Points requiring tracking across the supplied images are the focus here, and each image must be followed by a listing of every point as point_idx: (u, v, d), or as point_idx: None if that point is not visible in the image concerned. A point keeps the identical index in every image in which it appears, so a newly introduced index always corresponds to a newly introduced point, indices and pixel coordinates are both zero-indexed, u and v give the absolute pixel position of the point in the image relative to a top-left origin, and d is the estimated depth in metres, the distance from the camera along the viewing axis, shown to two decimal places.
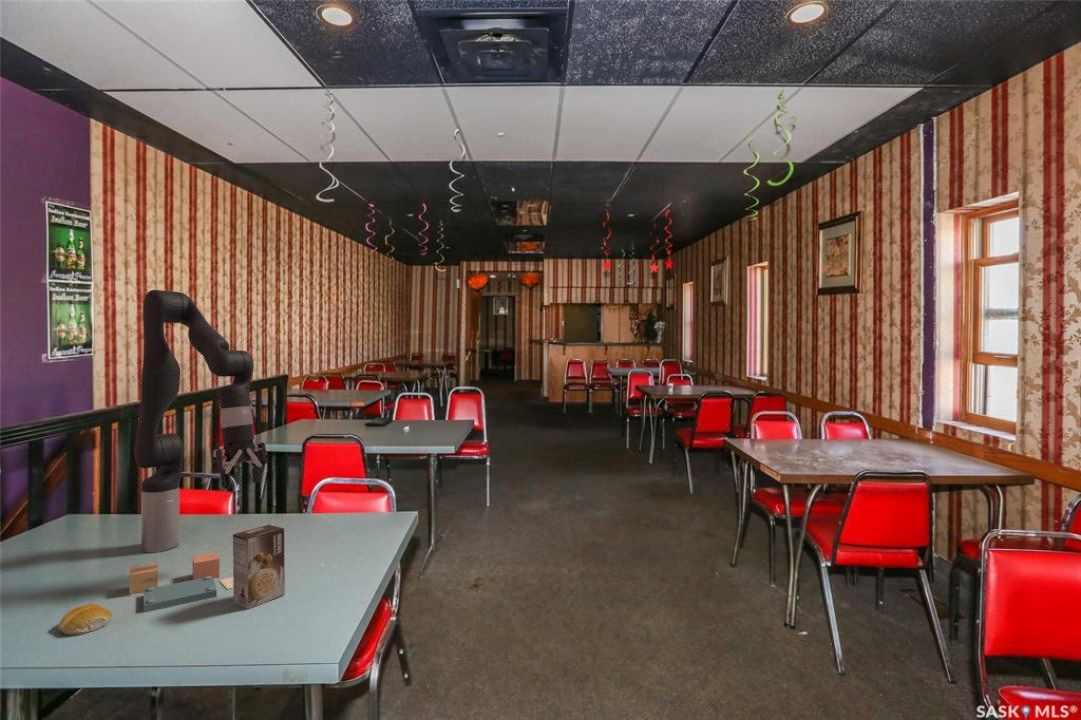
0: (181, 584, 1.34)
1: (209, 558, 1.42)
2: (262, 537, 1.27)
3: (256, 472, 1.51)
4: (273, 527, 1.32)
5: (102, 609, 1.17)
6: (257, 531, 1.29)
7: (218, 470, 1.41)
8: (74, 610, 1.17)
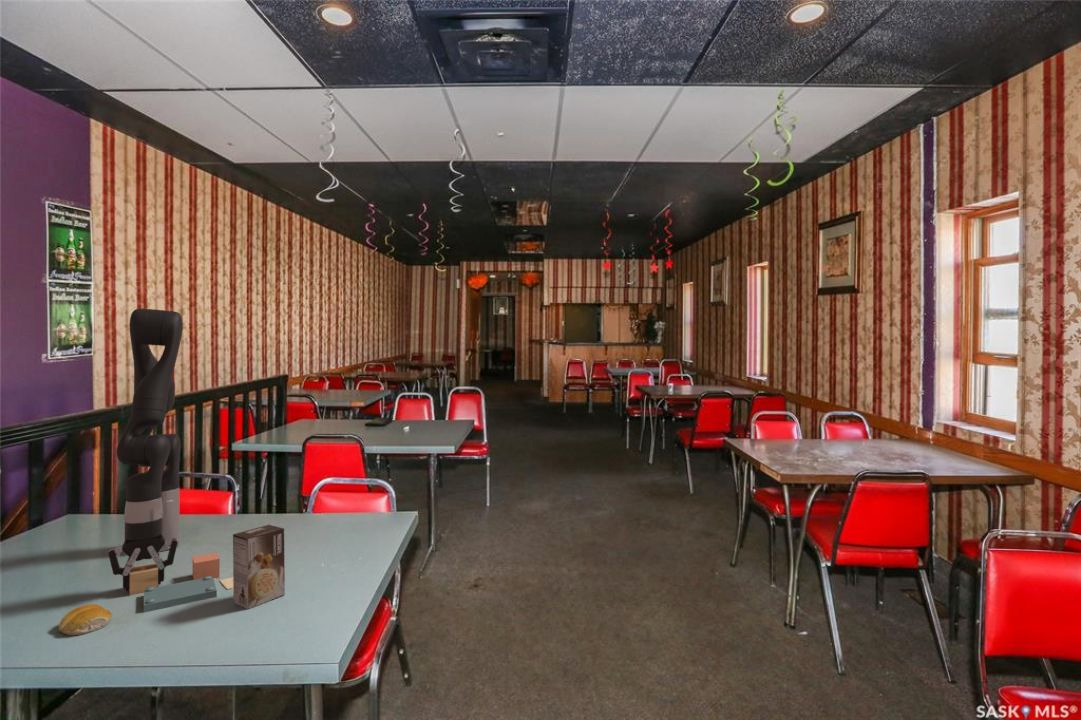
0: (181, 584, 1.34)
1: (209, 558, 1.42)
2: (262, 537, 1.27)
3: None
4: (273, 527, 1.32)
5: (102, 609, 1.17)
6: (257, 531, 1.29)
7: (113, 572, 1.30)
8: (74, 610, 1.16)
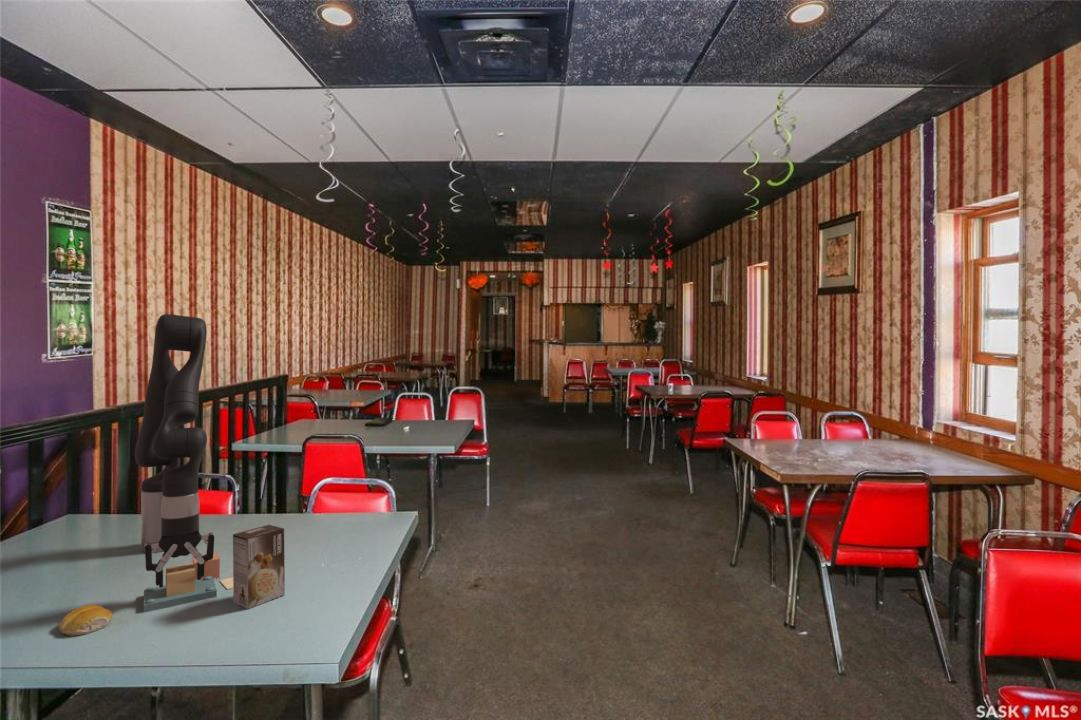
0: None
1: None
2: (262, 537, 1.27)
3: (197, 569, 1.32)
4: (273, 527, 1.32)
5: (103, 609, 1.17)
6: (257, 531, 1.29)
7: (146, 568, 1.26)
8: (75, 611, 1.16)
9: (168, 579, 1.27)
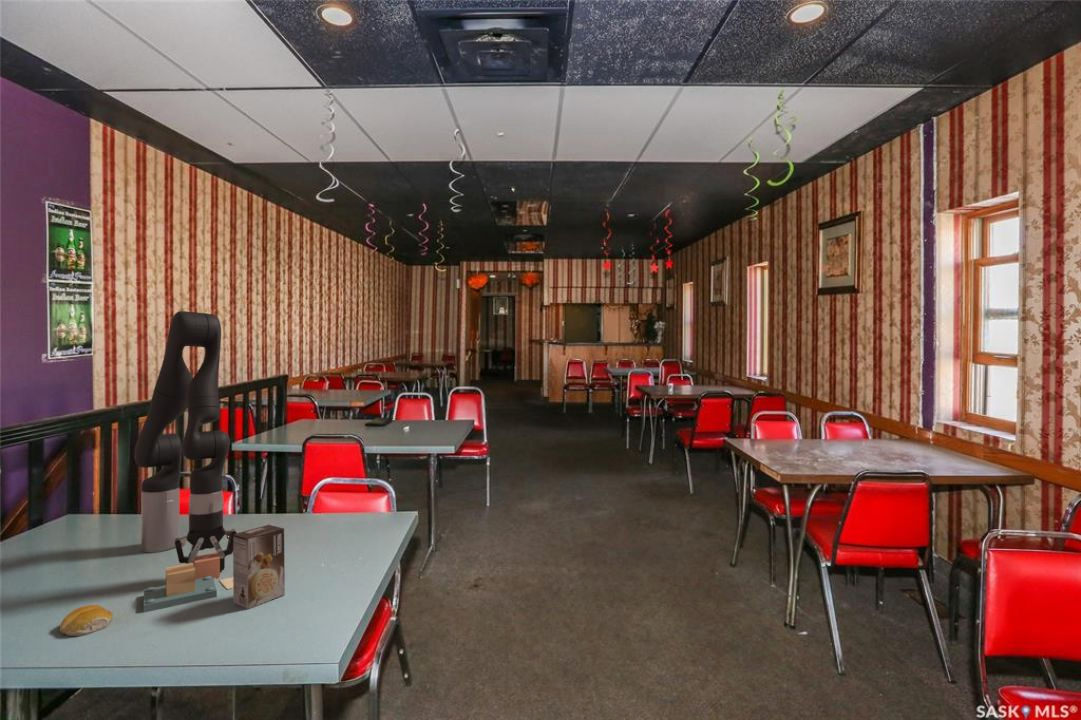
0: None
1: (209, 558, 1.42)
2: (262, 537, 1.27)
3: None
4: (273, 527, 1.32)
5: (103, 610, 1.17)
6: (257, 531, 1.29)
7: (179, 561, 1.38)
8: (75, 611, 1.16)
9: (168, 579, 1.27)
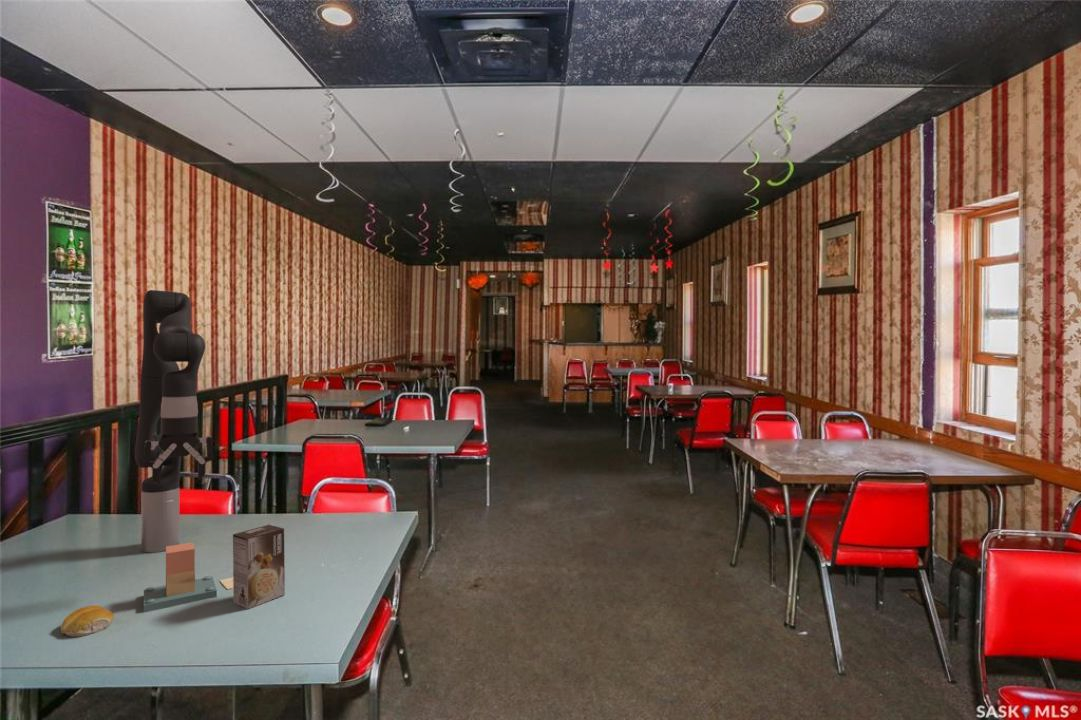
0: None
1: (183, 548, 1.30)
2: (262, 537, 1.27)
3: (198, 469, 1.37)
4: (273, 527, 1.32)
5: (104, 610, 1.17)
6: (257, 531, 1.29)
7: (144, 463, 1.30)
8: (76, 612, 1.16)
9: (168, 579, 1.27)
